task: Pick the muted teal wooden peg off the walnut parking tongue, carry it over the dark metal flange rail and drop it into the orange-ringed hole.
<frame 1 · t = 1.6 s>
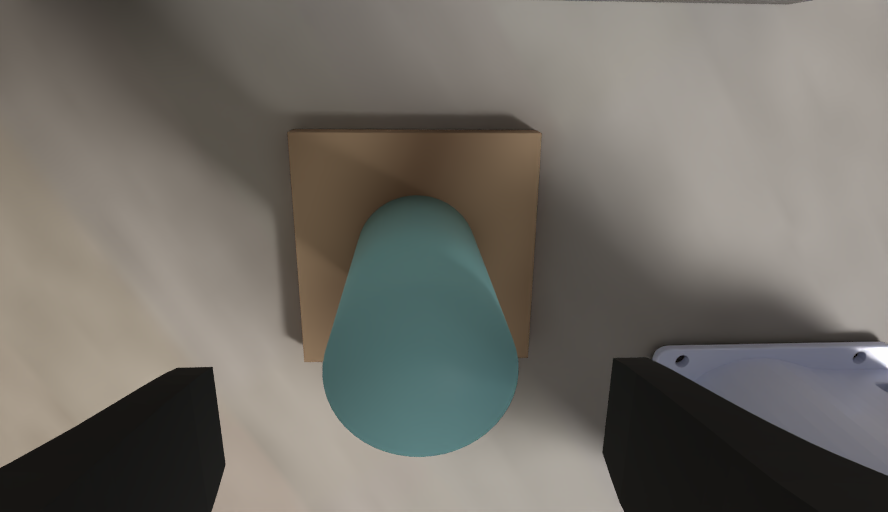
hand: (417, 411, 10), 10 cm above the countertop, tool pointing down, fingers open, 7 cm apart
peg: (416, 253, 19), point 1 cm above the countertop, touching parking tongue
parking tongue: (416, 244, 20), on the countertop
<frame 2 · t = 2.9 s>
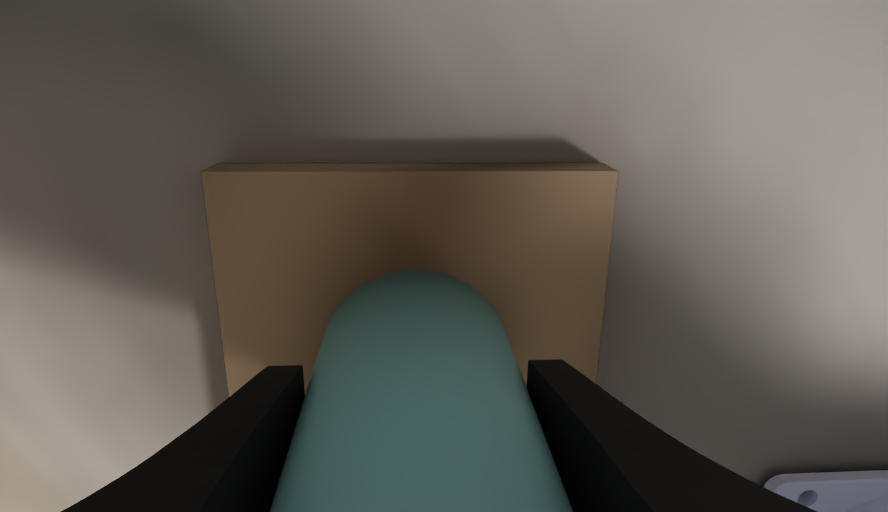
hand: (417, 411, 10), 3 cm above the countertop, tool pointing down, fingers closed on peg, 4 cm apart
peg: (415, 357, 12), point 1 cm above the countertop, touching gripper, parking tongue
parking tongue: (415, 336, 13), on the countertop
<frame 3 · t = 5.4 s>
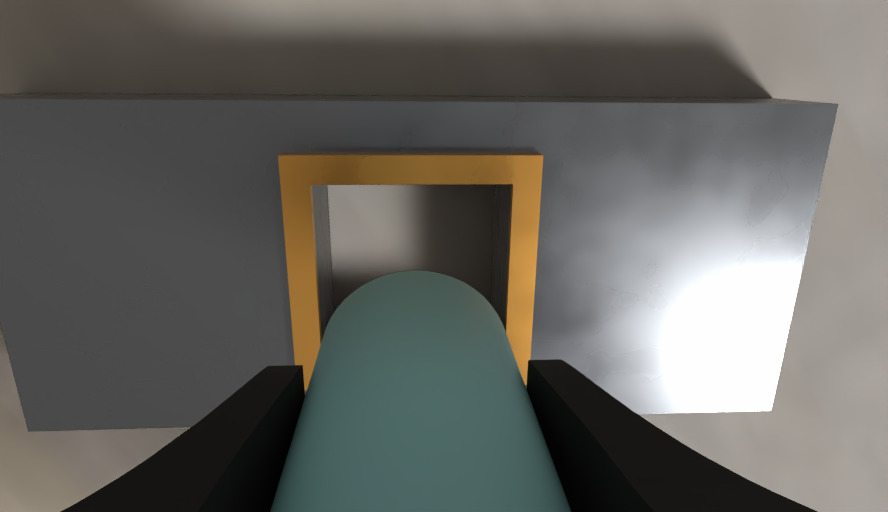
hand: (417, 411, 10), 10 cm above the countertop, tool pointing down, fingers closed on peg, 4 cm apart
peg: (415, 358, 12), point 8 cm above the countertop, touching gripper
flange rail: (412, 245, 20), on the countertop
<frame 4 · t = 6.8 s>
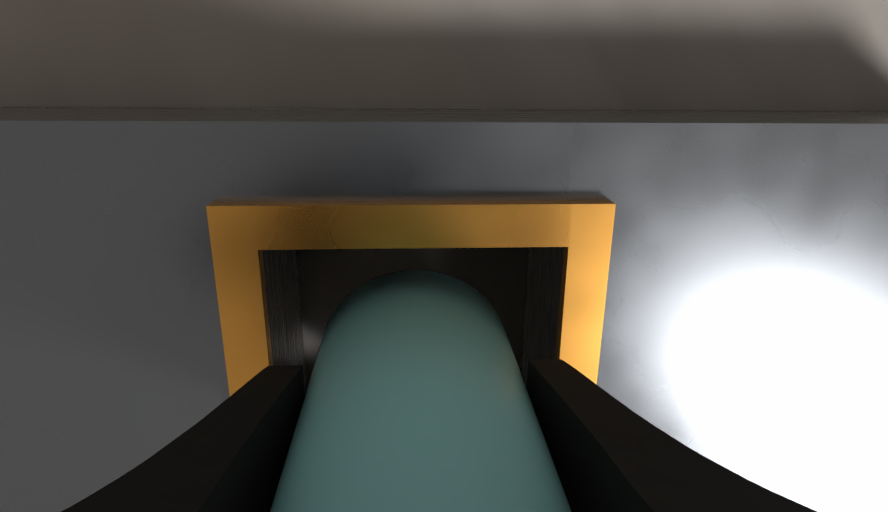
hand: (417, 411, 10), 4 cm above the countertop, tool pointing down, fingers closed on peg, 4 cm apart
peg: (415, 358, 12), point 2 cm above the countertop, touching gripper
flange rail: (414, 315, 14), on the countertop
when the fingers open (4 cm above the countertop, at t = 7.9 s): peg drops 2 cm, resting in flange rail.
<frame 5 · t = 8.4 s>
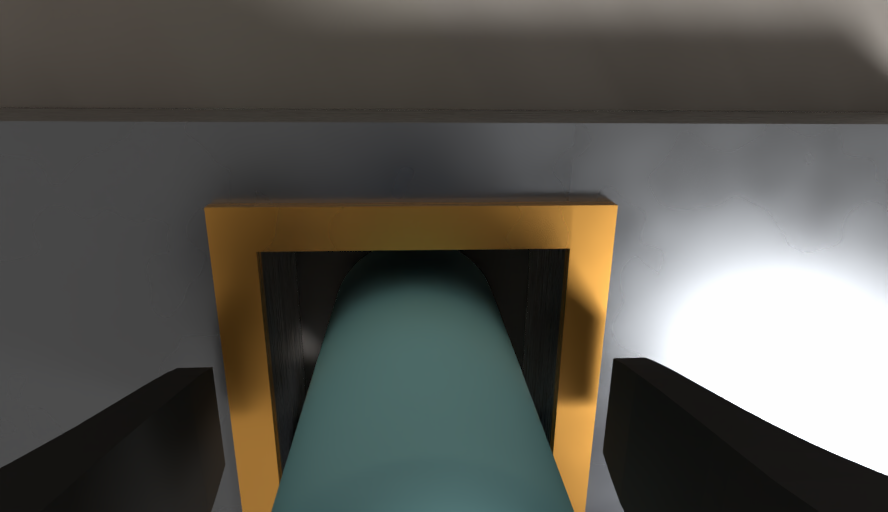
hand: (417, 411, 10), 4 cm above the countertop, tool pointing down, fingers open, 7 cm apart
peg: (415, 316, 14), resting in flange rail
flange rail: (414, 316, 14), on the countertop
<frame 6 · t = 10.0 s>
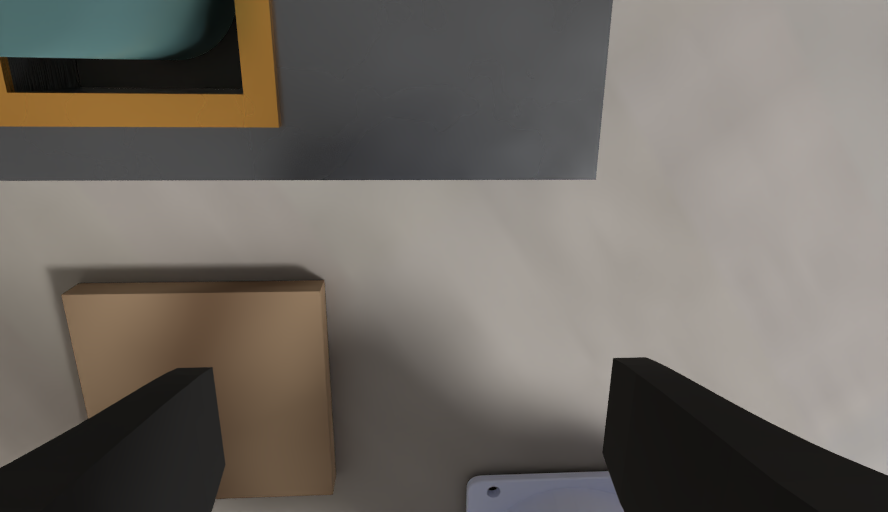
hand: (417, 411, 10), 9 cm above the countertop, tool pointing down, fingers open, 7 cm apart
parking tongue: (216, 386, 20), on the countertop
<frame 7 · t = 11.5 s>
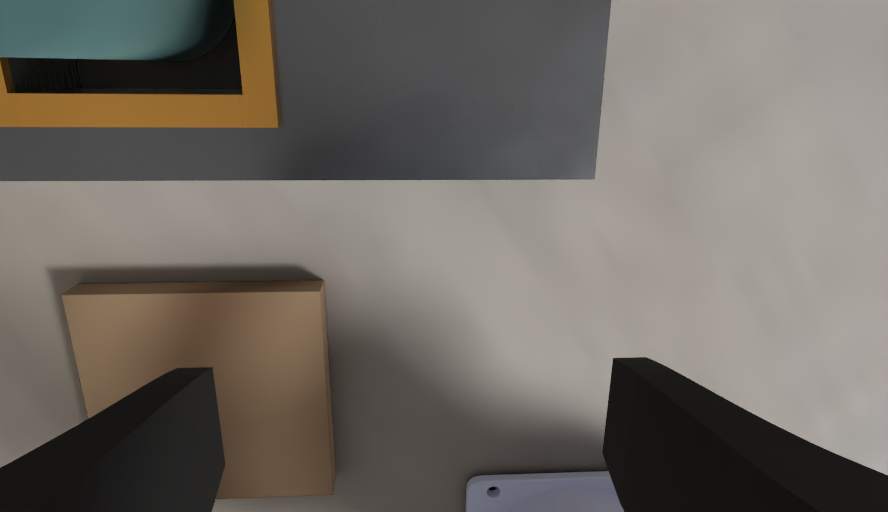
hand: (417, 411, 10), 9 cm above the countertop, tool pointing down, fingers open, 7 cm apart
parking tongue: (216, 387, 20), on the countertop
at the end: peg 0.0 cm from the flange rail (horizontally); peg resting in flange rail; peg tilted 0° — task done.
